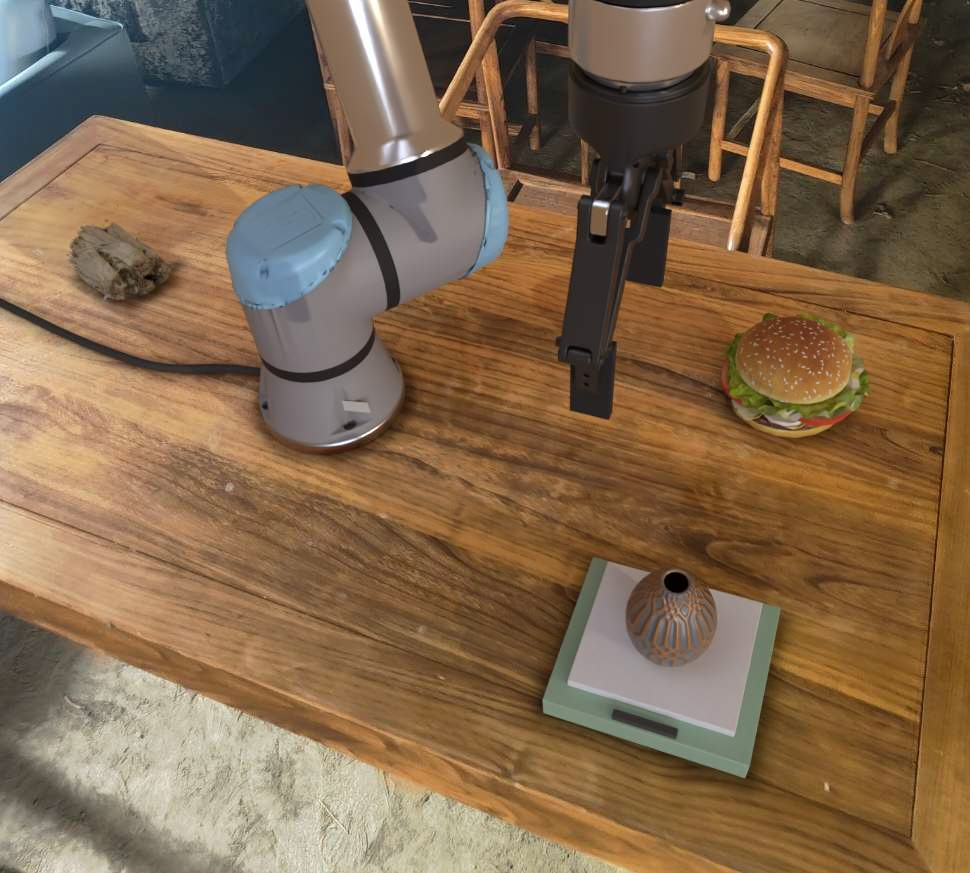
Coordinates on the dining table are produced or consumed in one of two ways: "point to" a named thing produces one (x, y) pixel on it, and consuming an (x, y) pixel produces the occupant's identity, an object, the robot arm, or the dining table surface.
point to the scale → (664, 676)
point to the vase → (671, 617)
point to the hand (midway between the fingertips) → (619, 342)
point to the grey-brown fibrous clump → (116, 262)
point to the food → (793, 375)
